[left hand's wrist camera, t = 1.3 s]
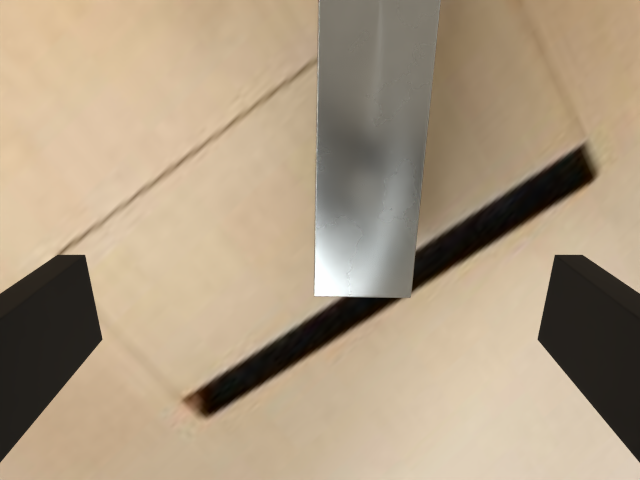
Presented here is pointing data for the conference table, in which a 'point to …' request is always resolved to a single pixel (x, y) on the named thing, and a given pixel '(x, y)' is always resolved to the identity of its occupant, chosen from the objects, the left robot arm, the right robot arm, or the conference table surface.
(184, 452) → the conference table surface
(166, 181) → the conference table surface
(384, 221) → the bar
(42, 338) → the left robot arm
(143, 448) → the conference table surface
